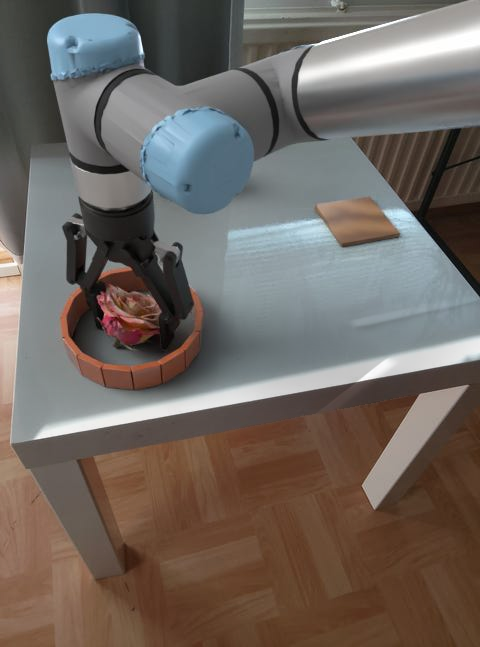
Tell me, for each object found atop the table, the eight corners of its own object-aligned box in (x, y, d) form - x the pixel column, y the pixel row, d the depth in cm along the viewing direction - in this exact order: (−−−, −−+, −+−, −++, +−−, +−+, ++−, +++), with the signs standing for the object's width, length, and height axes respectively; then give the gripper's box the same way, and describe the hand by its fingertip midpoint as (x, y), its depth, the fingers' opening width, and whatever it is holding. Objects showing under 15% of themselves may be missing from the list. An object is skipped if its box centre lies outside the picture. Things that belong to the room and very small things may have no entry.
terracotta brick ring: (228, 343, 68) (230, 324, 65) (112, 414, 60) (107, 396, 57) (153, 270, 77) (152, 250, 74) (42, 323, 68) (35, 303, 65)
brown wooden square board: (398, 237, 86) (400, 233, 85) (341, 247, 83) (342, 243, 83) (368, 199, 93) (369, 196, 92) (314, 208, 90) (315, 204, 89)
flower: (125, 375, 62) (153, 322, 59) (67, 333, 63) (92, 280, 61) (160, 355, 71) (186, 309, 68) (109, 318, 72) (132, 272, 70)
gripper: (227, 197, 52) (219, 336, 69) (44, 148, 56) (79, 291, 72) (199, 240, 47) (198, 378, 64) (0, 183, 51) (49, 328, 68)
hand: (135, 332), depth 68 cm, fingers closed on flower, 9 cm apart
